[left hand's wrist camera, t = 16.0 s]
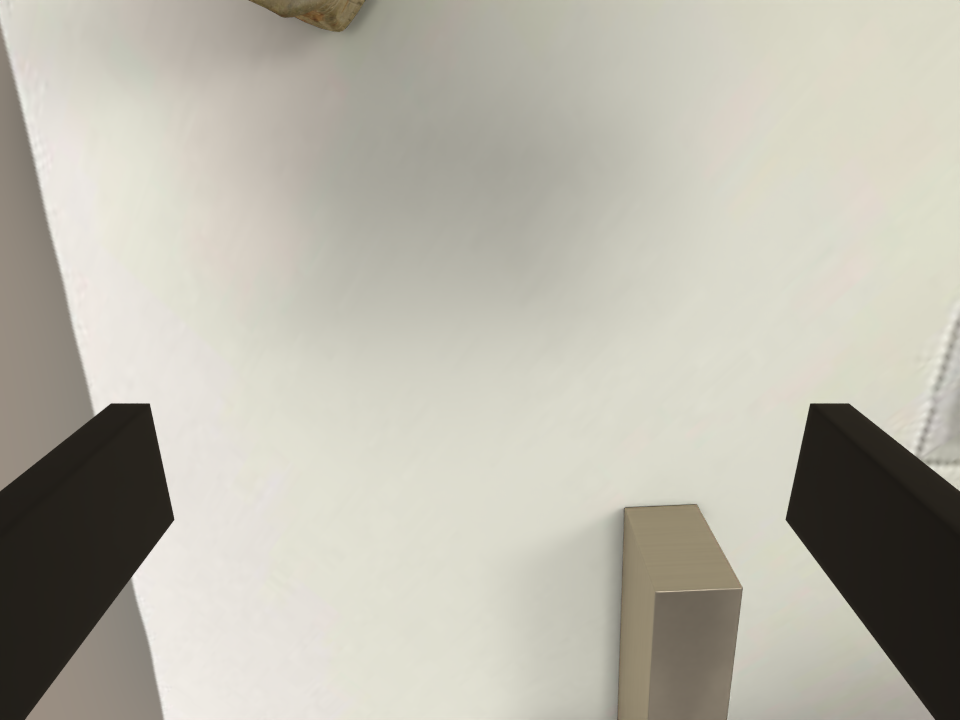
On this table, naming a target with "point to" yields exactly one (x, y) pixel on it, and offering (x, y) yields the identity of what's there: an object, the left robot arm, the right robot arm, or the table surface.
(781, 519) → the table surface
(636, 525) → the bar
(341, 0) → the sculpture
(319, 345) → the table surface
